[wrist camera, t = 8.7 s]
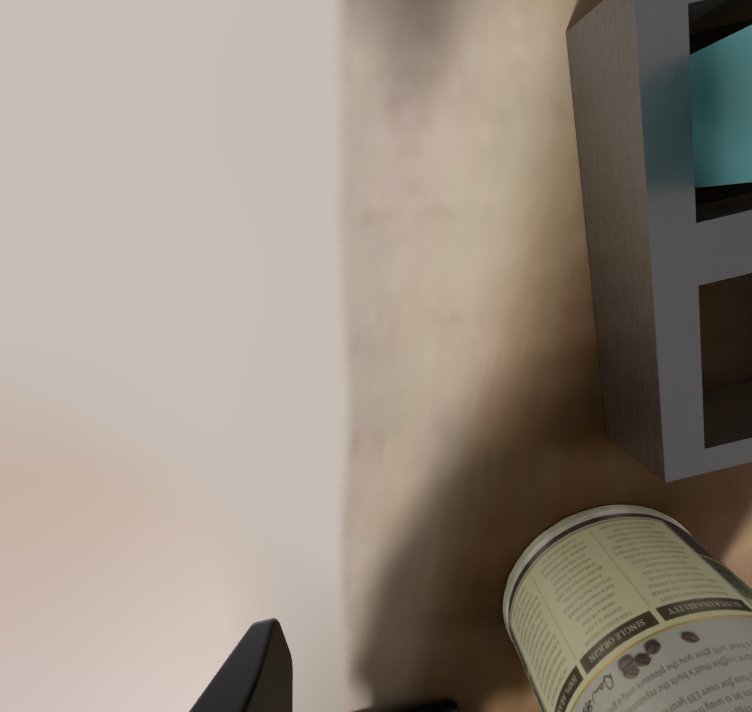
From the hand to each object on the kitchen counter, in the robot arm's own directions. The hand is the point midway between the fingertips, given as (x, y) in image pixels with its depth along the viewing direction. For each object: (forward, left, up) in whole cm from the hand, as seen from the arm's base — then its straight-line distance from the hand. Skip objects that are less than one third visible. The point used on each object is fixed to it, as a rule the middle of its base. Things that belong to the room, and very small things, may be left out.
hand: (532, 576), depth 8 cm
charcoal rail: (+3, -12, -12) cm, 17 cm away
